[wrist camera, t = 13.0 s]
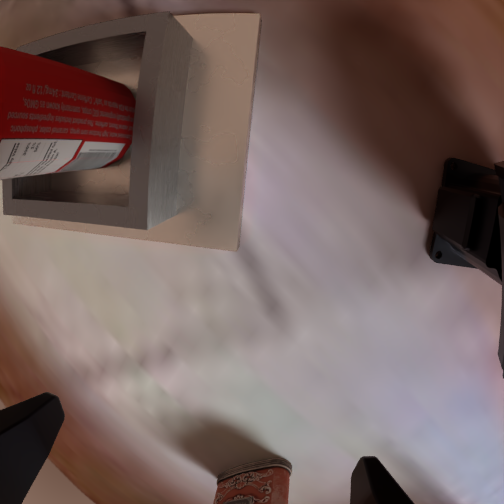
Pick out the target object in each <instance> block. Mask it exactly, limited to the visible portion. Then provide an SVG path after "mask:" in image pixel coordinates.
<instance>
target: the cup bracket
mask: <svg viewBox="0 0 504 504" xmlns="http://www.w3.org/2000/svg"><path fill="white" fill-rule="evenodd" d="M261 22H262V20H261V15H260V14H253V13H214V14H192V15H179V16H173V15H172V14H171V13H170V12H161V13H153V14H146V15H139V16H133V17H127V18H121V19H116V20H111V21H106V22H102V23H97V24H93V25H89V26H84V27H80V28H77V29H73V30H69V31H66V32H62V33H59V34H56V35H52V36H49V37H46V38H43V39H40V40H37V41H34V42H31V43H29V44H26V45H23V46H20V47H18V48H17V49H16V50H17V51H21V52H25V53H28V54H32V55H36V56H39V57H43V58H46V59H50V60H53V61H57V62H60V63H63V64H66V65H70V66H73V67H76V68H79V69H82V70H85V71H88V72H91V73H94V74H97V75H100V76H103V77H105V78H108V79H111V80H114V81H116V82H119V83H122V84H124V85H125V86H126V87H127V88H128V89H130V91H131V93H132V94H133V96H134V98H135V99H136V105H135V114H134V124H133V136H132V144H131V145H130V147H129V148H128V150H127V151H126V153H125V154H124V156H123V157H122V158H121V159H119V160H118V161H116V162H114V163H113V164H111V165H109V166H108V167H106V168H100V169H92V170H80V171H69V172H59V173H50V174H41V175H33V176H25V177H17V178H10V179H3V213H4V215H12V216H13V223H15V224H22V225H30V226H38V227H46V228H54V229H62V230H69V231H77V232H85V233H93V234H101V235H109V236H117V237H125V238H132V239H140V240H148V241H156V242H164V243H172V244H180V245H188V246H196V247H204V248H212V249H220V250H228V251H236V252H237V250H238V249H239V246H240V234H241V223H242V212H243V201H244V190H245V179H246V169H247V158H248V148H249V137H250V127H251V117H252V107H253V97H254V88H255V78H256V68H257V59H258V50H259V40H260V31H261Z"/></svg>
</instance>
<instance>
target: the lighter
mask: <svg viewBox="0 0 504 504" xmlns="http://www.w3.org/2000/svg"><path fill="white" fill-rule="evenodd" d="M291 474H292V465H291V463H290V462H289V461H287V460H284V459H281V458H273V459H268V460H262V461H257V462H253V463H249V464H245V465H241V466H239V467H236V468H233V469H230V470H228V471H226V472H223V473H221V474H220V475H218V479H217V486H218V487H217V491H216V495H215V499H214V503H213V504H288V494H289V477H290V476H291Z"/></svg>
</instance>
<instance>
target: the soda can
mask: <svg viewBox="0 0 504 504" xmlns="http://www.w3.org/2000/svg"><path fill="white" fill-rule="evenodd" d="M135 105H136V99H135V98H134V96H133V94H132V93H131V91H130V89H128V88H127V87H126V86H125V85H124V84H122V83H119V82H116V81H114V80H111V79H108V78H105V77H103V76H100V75H97V74H94V73H91V72H88V71H85V70H82V69H79V68H76V67H73V66H70V65H66V64H63V63H60V62H57V61H53V60H50V59H46V58H43V57H39V56H36V55H32V54H28V53H25V52H21V51H17V50H13V49H9V48H4V47H0V180H3V179H10V178H17V177H25V176H33V175H41V174H50V173H59V172H69V171H80V170H92V169H100V168H106V167H108V166H109V165H111V164H113V163H114V162H116V161H118V160H119V159H121V158H122V157H123V156H124V154H125V153H126V151H127V150H128V148H129V147H130V145H131V144H132V136H133V124H134V114H135Z"/></svg>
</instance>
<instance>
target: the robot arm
mask: <svg viewBox="0 0 504 504" xmlns="http://www.w3.org/2000/svg"><path fill="white" fill-rule="evenodd" d="M452 162H453V163H454V169H453V170H452V169H451V163H452ZM494 166H495V170H493V169H489V168H486V167H483V166H480V165H477V164H473V163H470V162H467V161H463V160H460V159H456V158H448V159H447V160H446V161H445V164H444V173H443V180H442V187H441V188H440V189H439V192H438V198H437V205H436V211H435V216H434V222H433V227H432V229H433V231H434V234H433V239H432V244H431V249H430V258H431V259H432V260H433V261H434V262H436V263H442V264H449V265H456V266H463V267H470V268H477V269H479V270H481V271H482V272H484V273H485V274H486V275H488V276H489V277H491V278H492V279H494V280H495V281H496V282H498V283H499V284H501V285H502V309H501V327H500V339H499V349H498V356H499V360H500V363H501V367H502V369H503V378H504V161H502V162H498V163H494ZM438 251H440V254H439V256H438V257H435V254H436V252H438ZM64 417H65V415H64V411H63V408H62V405H61V402H60V399H59V398H58V396H56V395H54V394H52V393H49V392H45V393H43V394H40V395H38V396H35V397H33V398H30V399H28V400H25V401H23V402H20V403H18V404H15V405H13V406H10V407H7V408H5V409H2V410H0V504H22V502H23V500H24V498H25V496H26V494H27V493H28V491H29V489H30V487H31V485H32V483H33V482H34V480H35V478H36V476H37V475H38V473H39V471H40V469H41V468H42V466H43V464H44V462H45V460H46V459H47V457H48V455H49V453H50V451H51V448H52V446H53V444H54V441H55V439H56V437H57V435H58V432H59V430H60V428H61V426H62V423H63V421H64ZM350 504H414V503H413V501H412V500H411V499H410V498H409V496H408V495H407V494H406V493H405V492H404V490H403V489H402V488H401V487H400V486H399V484H398V483H397V482H396V481H395V479H394V478H393V477H392V476H391V474H390V473H389V472H388V471H387V470H386V468H385V467H384V466H383V465H382V463H381V462H380V461H379V460H378V458H376V457H375V456H363V457H361V458H360V460H359V461H358V463H357V465H356V467H355V469H354V471H353V473H352V476H351V496H350Z"/></svg>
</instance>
